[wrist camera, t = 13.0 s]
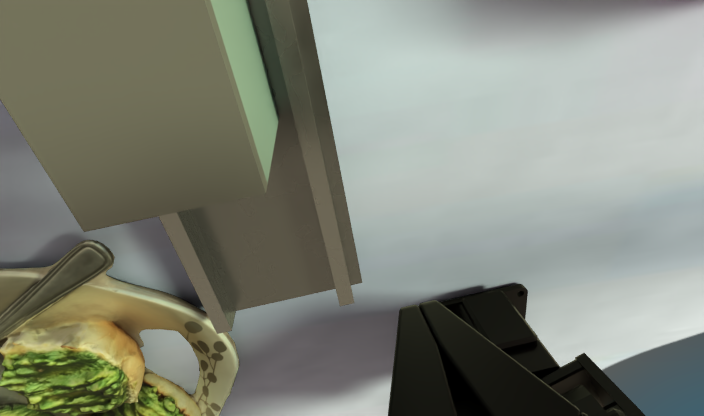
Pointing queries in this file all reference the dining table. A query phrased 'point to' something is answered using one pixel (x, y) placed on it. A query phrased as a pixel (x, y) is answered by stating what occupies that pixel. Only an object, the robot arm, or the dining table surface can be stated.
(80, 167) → the module
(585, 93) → the dining table surface
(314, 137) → the rail
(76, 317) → the salad plate
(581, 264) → the dining table surface
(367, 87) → the dining table surface
